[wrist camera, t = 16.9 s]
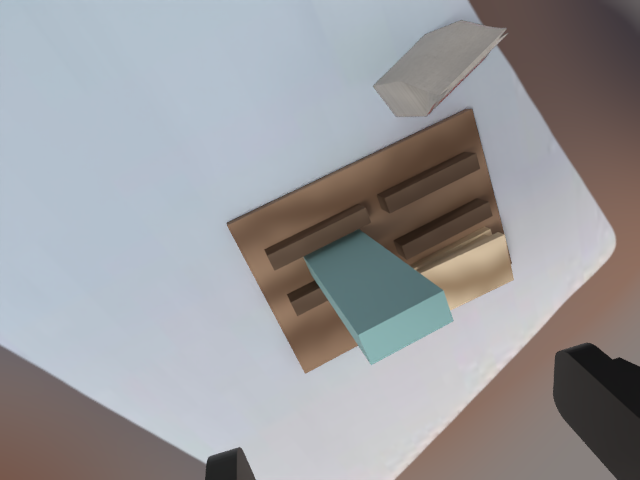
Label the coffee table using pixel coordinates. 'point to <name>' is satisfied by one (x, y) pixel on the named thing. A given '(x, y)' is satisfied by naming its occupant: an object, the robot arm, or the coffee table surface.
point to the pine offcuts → (468, 266)
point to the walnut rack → (366, 224)
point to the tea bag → (436, 67)
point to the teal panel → (377, 294)
